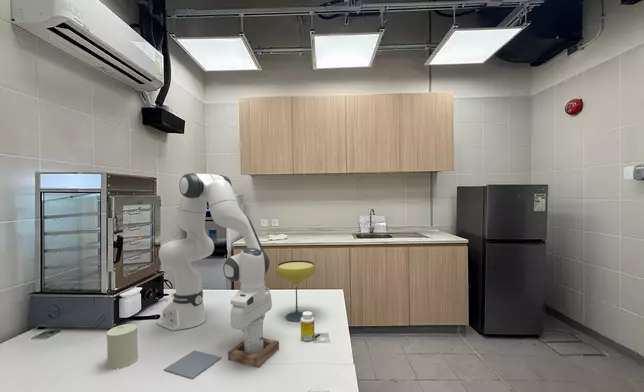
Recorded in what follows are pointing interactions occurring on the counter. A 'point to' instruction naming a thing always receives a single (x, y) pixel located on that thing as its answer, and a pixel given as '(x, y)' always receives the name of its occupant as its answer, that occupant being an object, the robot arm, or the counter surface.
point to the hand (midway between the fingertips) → (253, 330)
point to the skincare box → (254, 337)
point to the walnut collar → (253, 359)
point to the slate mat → (192, 364)
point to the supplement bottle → (307, 326)
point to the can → (122, 346)
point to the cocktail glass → (295, 279)
